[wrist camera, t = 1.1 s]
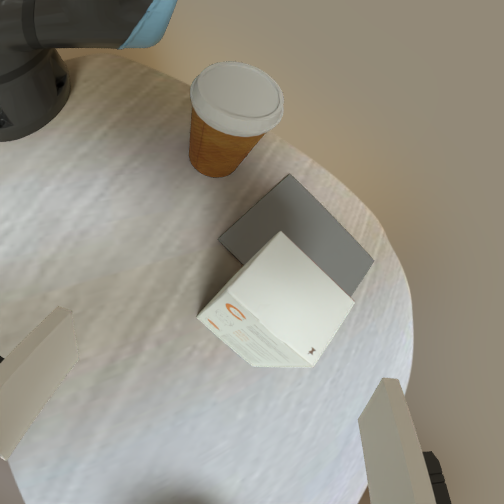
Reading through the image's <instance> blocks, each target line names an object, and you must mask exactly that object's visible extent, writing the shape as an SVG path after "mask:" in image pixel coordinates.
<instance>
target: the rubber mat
mask: <svg viewBox="0 0 504 504" xmlns="http://www.w3.org/2000/svg"><path fill="white" fill-rule="evenodd" d="M280 231H282V232H283V233H284V234H285V235H286V236H287V237H288V238H289V239H290V240H291V241H292V242H293V243H295V244H296V245H297V246H298V247H299V248H300V249H301V250H302V251H303V252H304V253H305V254H306V255H307V256H308V257H309V258H310V259H312V260H313V261H314V262H315V263H316V264H317V265H318V266H319V267H320V268H321V269H322V270H323V271H324V272H325V273H326V274H327V275H328V276H329V277H330V278H331V279H332V280H334V281H335V282H336V283H337V284H338V285H339V286H340V287H341V288H342V289H343V290H344V291H345V292H346V293H347V294H348V295H349V296H350V297H351V296H352V294H353V293H354V291H355V290H356V288H357V287H358V285H359V284H360V282H361V281H362V279H363V278H364V276H365V275H366V273H367V272H368V270H369V269H370V267H371V265H372V264H373V262H374V260H373V259H372V258H371V257H370V255H369V254H368V253H367V252H366V251H365V250H364V249H363V248H362V247H361V246H360V245H359V244H358V242H357V241H356V240H355V239H354V238H353V237H352V236H351V235H350V234H349V233H348V232H347V231H346V230H345V229H344V228H343V227H342V226H341V224H340V223H339V222H338V221H337V220H336V219H335V218H334V217H333V216H332V215H331V214H330V213H329V212H328V211H327V210H326V209H325V208H324V207H323V206H322V205H321V204H320V203H319V202H318V201H317V200H316V199H315V198H314V197H313V196H312V195H311V194H310V193H309V192H308V191H307V190H306V189H305V188H304V187H303V186H302V185H301V184H300V183H299V182H298V181H297V180H296V179H295V178H294V177H293V176H292V175H291V174H289V175H288V176H287V177H286V178H285V179H284V180H282V181H281V182H280V183H279V184H278V185H277V186H276V187H275V188H273V189H272V190H271V191H270V192H269V193H268V194H267V195H266V196H265V197H263V198H262V199H261V200H260V201H259V202H258V203H257V204H256V205H255V206H253V207H252V208H251V209H250V210H249V211H248V212H247V213H246V214H245V215H244V216H242V217H241V218H240V219H239V220H238V221H237V222H236V223H235V224H234V225H233V226H232V227H230V228H229V229H228V230H227V231H226V232H225V233H224V234H223V235H222V236H221V237H220V238H219V239H218V240H219V241H220V242H221V243H222V244H223V245H224V246H225V247H226V248H227V249H228V250H229V251H230V252H231V253H232V254H233V255H234V256H235V257H236V258H237V259H238V260H239V261H240V262H241V263H242V264H243V265H245V264H246V263H247V262H248V261H249V260H250V259H251V258H252V257H253V256H254V255H255V254H256V253H257V252H258V251H259V250H260V249H261V248H262V247H263V246H264V245H266V244H267V243H268V242H269V241H270V240H271V239H272V238H273V237H274V236H275V235H276V234H277V233H278V232H280Z"/></svg>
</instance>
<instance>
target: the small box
mask: <svg viewBox="0 0 504 504" xmlns="http://www.w3.org/2000/svg"><path fill="white" fill-rule="evenodd" d="M354 303H355V301H354V300H353V299H352V298H351V297H350V296H349V295H348V294H347V293H346V292H345V291H344V290H343V289H342V288H341V287H340V286H339V285H338V284H337V283H336V282H335V281H334V280H332V279H331V278H330V277H329V276H328V275H327V274H326V273H325V272H324V271H323V270H322V269H321V268H320V267H319V266H318V265H317V264H316V263H315V262H314V261H313V260H312V259H310V258H309V257H308V256H307V255H306V254H305V253H304V252H303V251H302V250H301V249H300V248H299V247H298V246H297V245H296V244H295V243H293V242H292V241H291V240H290V239H289V238H288V237H287V236H286V235H285V234H284V233H283V232H282V231H280V232H278V233H277V234H276V235H275V236H274V237H273V238H272V239H271V240H270V241H269V242H268V243H267V244H266V245H264V246H263V247H262V248H261V249H260V250H259V251H258V252H257V253H256V254H255V255H254V256H253V257H252V258H251V259H250V260H249V261H248V262H247V263H246V264H245V265H244V266H243V267H242V268H241V269H240V270H239V271H238V272H237V273H236V274H235V275H234V276H233V277H232V278H231V279H230V280H229V281H228V282H227V283H226V285H225V286H224V287H223V288H222V289H221V290H220V291H219V292H218V293H217V294H216V295H215V297H214V298H213V299H212V300H211V301H210V302H209V303H208V304H207V305H206V306H205V308H204V309H203V310H202V311H201V312H200V313H199V314H198V316H197V318H198V319H199V320H200V321H201V322H202V323H203V324H204V325H205V326H206V327H207V328H209V329H210V330H211V331H212V332H213V333H214V334H215V335H216V336H217V337H219V338H220V339H221V340H222V341H223V342H224V343H225V344H227V345H228V346H229V347H230V348H231V349H232V350H234V351H235V352H236V353H237V354H238V355H239V356H241V357H242V358H243V359H244V360H245V361H247V362H248V363H249V364H250V365H252V366H253V367H314V365H315V364H316V362H317V361H318V359H319V358H320V356H321V355H322V353H323V352H324V350H325V349H326V347H327V346H328V344H329V343H330V341H331V340H332V338H333V337H334V335H335V333H336V332H337V330H338V329H339V327H340V326H341V324H342V322H343V321H344V319H345V318H346V316H347V315H348V313H349V311H350V310H351V308H352V306H353V305H354Z"/></svg>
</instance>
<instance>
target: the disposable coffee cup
mask: <svg viewBox="0 0 504 504" xmlns="http://www.w3.org/2000/svg"><path fill="white" fill-rule="evenodd" d="M190 98H191V102H192V117H191V132H190V148H189V158H190V161H191V164H192V165H193V166H194V168H195V169H196V170H198V171H199V172H200V173H202V174H204V175H206V176H209V177H216V178H217V177H224V176H227V175H229V174H231V173H232V172H233V171H234V170H235V169H236V168H237V167H238V165H239V164H240V163H241V162H242V160H243V159H244V158H245V157H246V156H247V155H248V153H249V152H250V151H251V150H252V148H253V147H254V146H255V145H256V144H257V143H258V141H259V140H260V139H261V138H262V136H263V135H264V134H265V133H266V132H268V131H270V130H271V129H272V128H274V127H275V126H276V125H277V124H278V123H279V122H280V121H281V118H282V116H283V111H284V108H283V103H284V97H283V93H282V91H281V88H280V87H279V85H278V84H277V83H276V81H275V80H274V79H273V78H272V77H270V76H269V75H268V74H267V73H265V72H264V71H262V70H260V69H258V68H257V67H254V66H251V65H249V64H245V63H240V62H234V61H228V62H227V61H226V62H219V63H215V64H212V65H210V66H208V67H207V68H205V69H204V70H203V71H202V72H201V74H200V75H198V76H197V77H196V78H195V79H194V81H193V82H192V85H191V88H190Z"/></svg>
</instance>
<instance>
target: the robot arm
mask: <svg viewBox="0 0 504 504" xmlns="http://www.w3.org/2000/svg"><path fill="white" fill-rule="evenodd" d="M176 2H177V0H0V142H6V141H12V140H16V139H19V138H22V137H25V136H27V135H29V134H31V133H33V132H35V131H37V130H38V129H40V128H41V127H43V126H44V125H46V124H47V123H48V122H49V121H51V120H52V119H53V118H54V117H55V116H56V115H57V114H58V112H59V111H60V110H61V109H62V107H63V106H64V104H65V103H66V101H67V99H68V96H69V93H70V79H69V73H68V69H67V67H66V65H65V64H64V62H63V60H62V59H61V57H60V55H59V54H58V52H57V50H56V49H55V48H113V49H124V48H148V47H151V46H154V45H156V44H157V43H158V42H159V41H160V40H161V38H162V37H163V35H164V33H165V31H166V28H167V26H168V24H169V21H170V19H171V16H172V13H173V11H174V8H175V5H176ZM78 360H79V353H78V348H77V342H76V336H75V329H74V323H73V315H72V311H70V310H68V309H65V308H62V307H59V306H58V307H57V308H56V309H55V310H54V311H53V312H52V313H51V314H49V315H48V316H47V317H46V318H45V319H44V320H43V321H42V322H41V323H40V324H39V325H38V326H37V327H36V328H35V329H34V330H33V331H32V332H31V333H30V334H29V335H28V336H27V337H26V338H25V339H24V340H23V341H22V342H21V343H20V344H19V345H18V346H17V347H16V348H15V349H14V350H13V351H12V352H11V353H10V354H9V355H8V356H7V357H6V358H5V359H4V358H3V357H1V356H0V457H1V458H2V459H4V460H5V461H7V460H8V458H9V457H10V455H11V454H12V452H13V451H14V449H15V448H16V446H17V445H18V443H19V442H20V440H21V439H22V437H23V436H24V434H25V433H26V431H27V430H28V429H29V427H30V426H31V424H32V423H33V421H34V420H35V419H36V417H37V416H38V414H39V413H40V411H41V410H42V409H43V407H44V406H45V404H46V403H47V402H48V400H49V399H50V398H51V396H52V395H53V393H54V392H55V391H56V389H57V388H58V387H59V385H60V384H61V383H62V381H63V380H64V379H65V377H66V376H67V375H68V373H69V372H70V371H71V369H72V368H73V367H74V365H75V364H76V363H77V361H78ZM358 423H359V429H360V435H361V441H362V447H363V453H364V459H365V466H366V472H367V479H368V486H369V494H370V501H371V504H451V501H450V497H449V493H448V490H447V486H446V484H445V479H444V476H443V475H442V469H441V466H440V463H439V461H438V459H437V458H436V457H435V455H434V454H433V453H432V451H430V452H422V450H421V446H420V443H419V440H418V437H417V433H416V430H415V427H414V424H413V421H412V418H411V415H410V412H409V409H408V406H407V403H406V400H405V397H404V394H403V391H402V388H401V386H400V383H399V380H398V379H391V378H382V379H381V381H380V383H379V385H378V387H377V388H376V390H375V392H374V394H373V395H372V397H371V399H370V400H369V402H368V404H367V405H366V407H365V409H364V410H363V412H362V414H361V415H360V417H359V419H358Z"/></svg>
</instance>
